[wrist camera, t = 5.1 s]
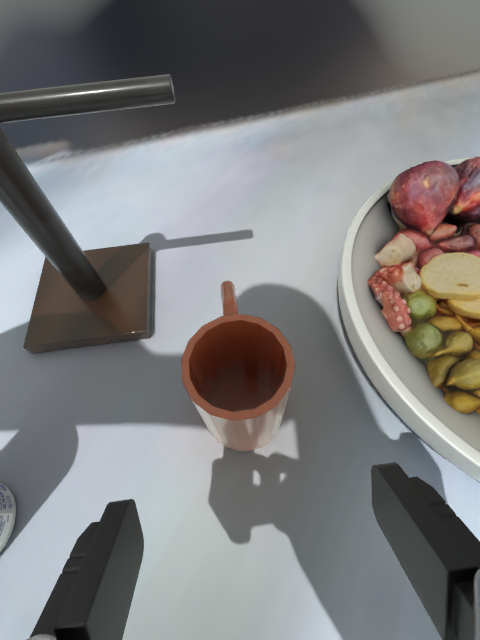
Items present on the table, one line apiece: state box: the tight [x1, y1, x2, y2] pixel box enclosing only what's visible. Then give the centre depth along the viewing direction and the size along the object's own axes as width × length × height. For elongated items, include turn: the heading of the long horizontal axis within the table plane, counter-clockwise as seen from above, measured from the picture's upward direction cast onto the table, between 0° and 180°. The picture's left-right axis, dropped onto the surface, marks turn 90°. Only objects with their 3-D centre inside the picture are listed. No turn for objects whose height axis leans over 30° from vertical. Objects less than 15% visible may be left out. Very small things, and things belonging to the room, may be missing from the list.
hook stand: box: [0, 74, 175, 353], centre depth 22 cm, size 16×10×18 cm, turn 97°
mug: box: [181, 281, 295, 451], centre depth 21 cm, size 9×6×9 cm, turn 7°
